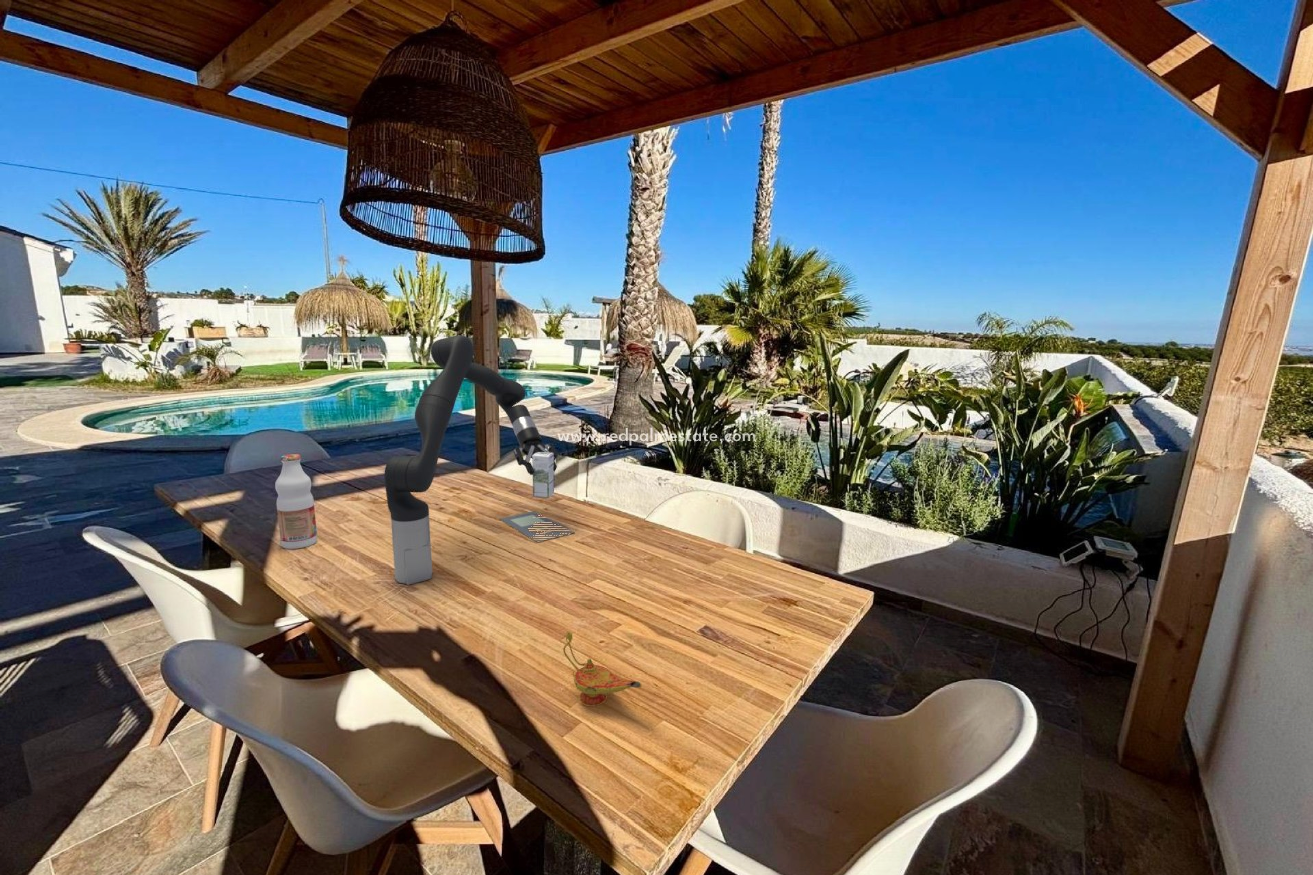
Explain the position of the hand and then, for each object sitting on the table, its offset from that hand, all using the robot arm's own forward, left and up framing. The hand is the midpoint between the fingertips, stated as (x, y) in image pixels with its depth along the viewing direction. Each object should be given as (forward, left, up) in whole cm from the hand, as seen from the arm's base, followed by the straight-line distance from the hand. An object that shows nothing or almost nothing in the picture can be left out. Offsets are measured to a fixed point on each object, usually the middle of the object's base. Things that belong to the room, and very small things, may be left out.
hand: (543, 471), depth 176 cm
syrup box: (0, 0, -8) cm, 9 cm away
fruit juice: (+36, +65, -21) cm, 77 cm away
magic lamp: (-82, +35, -21) cm, 91 cm away
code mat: (+6, 0, -21) cm, 22 cm away
